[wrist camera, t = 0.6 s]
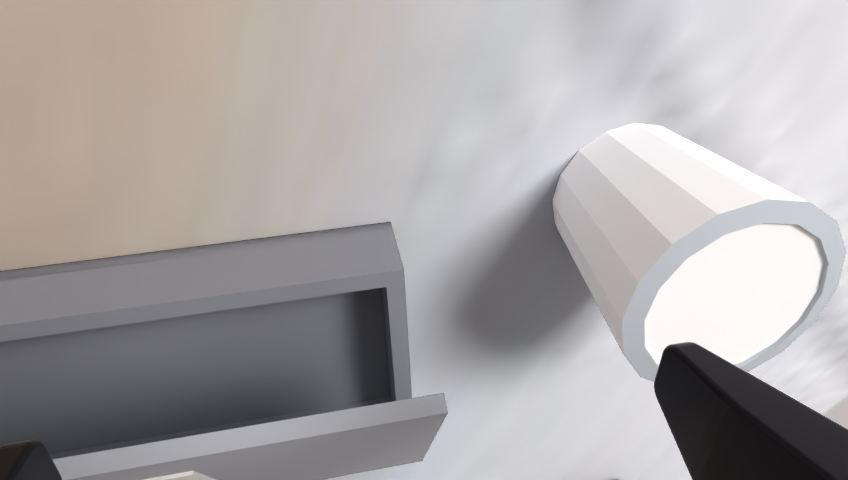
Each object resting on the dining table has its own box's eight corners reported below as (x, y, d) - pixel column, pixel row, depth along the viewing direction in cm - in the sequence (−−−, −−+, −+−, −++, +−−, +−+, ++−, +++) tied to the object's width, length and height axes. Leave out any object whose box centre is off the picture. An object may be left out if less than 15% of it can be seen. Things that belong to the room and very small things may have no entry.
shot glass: (684, 253, 25) (803, 372, 19) (530, 275, 24) (606, 407, 18) (725, 97, 21) (888, 186, 15) (544, 116, 20) (645, 218, 14)
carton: (403, 393, 26) (415, 448, 24) (-92, 476, 23) (-137, 549, 21) (390, 221, 21) (404, 269, 19) (-239, 301, 18) (-320, 369, 16)
